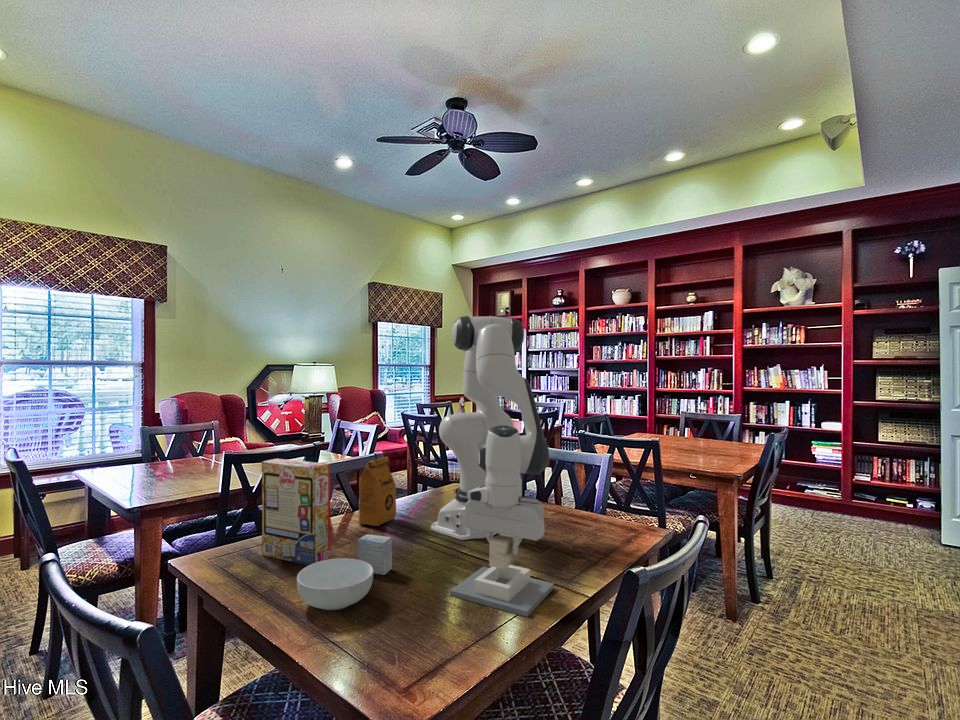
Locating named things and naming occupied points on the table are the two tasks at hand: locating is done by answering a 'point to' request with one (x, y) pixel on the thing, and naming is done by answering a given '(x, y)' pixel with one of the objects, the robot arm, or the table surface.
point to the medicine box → (376, 552)
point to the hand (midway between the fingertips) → (503, 551)
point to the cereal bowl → (334, 583)
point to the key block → (501, 551)
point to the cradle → (504, 589)
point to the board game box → (296, 510)
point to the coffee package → (377, 494)
